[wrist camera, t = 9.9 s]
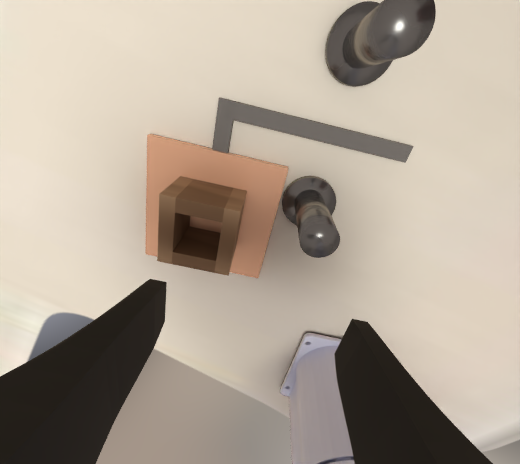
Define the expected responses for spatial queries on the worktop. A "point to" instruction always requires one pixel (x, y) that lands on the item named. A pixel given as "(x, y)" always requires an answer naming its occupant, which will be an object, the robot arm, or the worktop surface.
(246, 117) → the grey flat l-shaped piece
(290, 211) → the post
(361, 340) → the robot arm
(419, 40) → the post
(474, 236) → the worktop surface
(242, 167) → the pad
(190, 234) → the open wooden crate
